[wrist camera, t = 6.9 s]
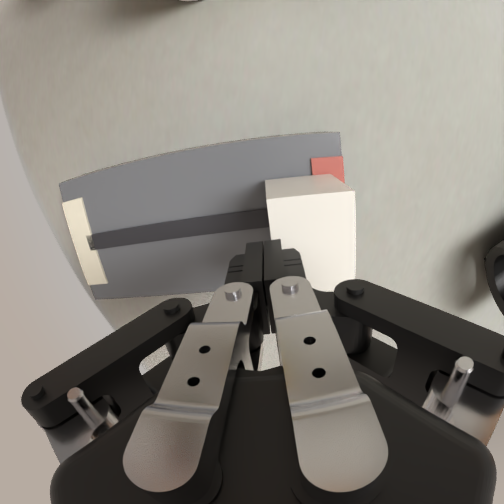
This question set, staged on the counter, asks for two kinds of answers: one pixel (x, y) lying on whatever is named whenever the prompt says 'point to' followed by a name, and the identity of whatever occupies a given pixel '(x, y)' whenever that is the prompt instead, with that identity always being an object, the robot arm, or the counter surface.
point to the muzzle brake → (496, 273)
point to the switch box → (184, 211)
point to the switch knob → (315, 225)
